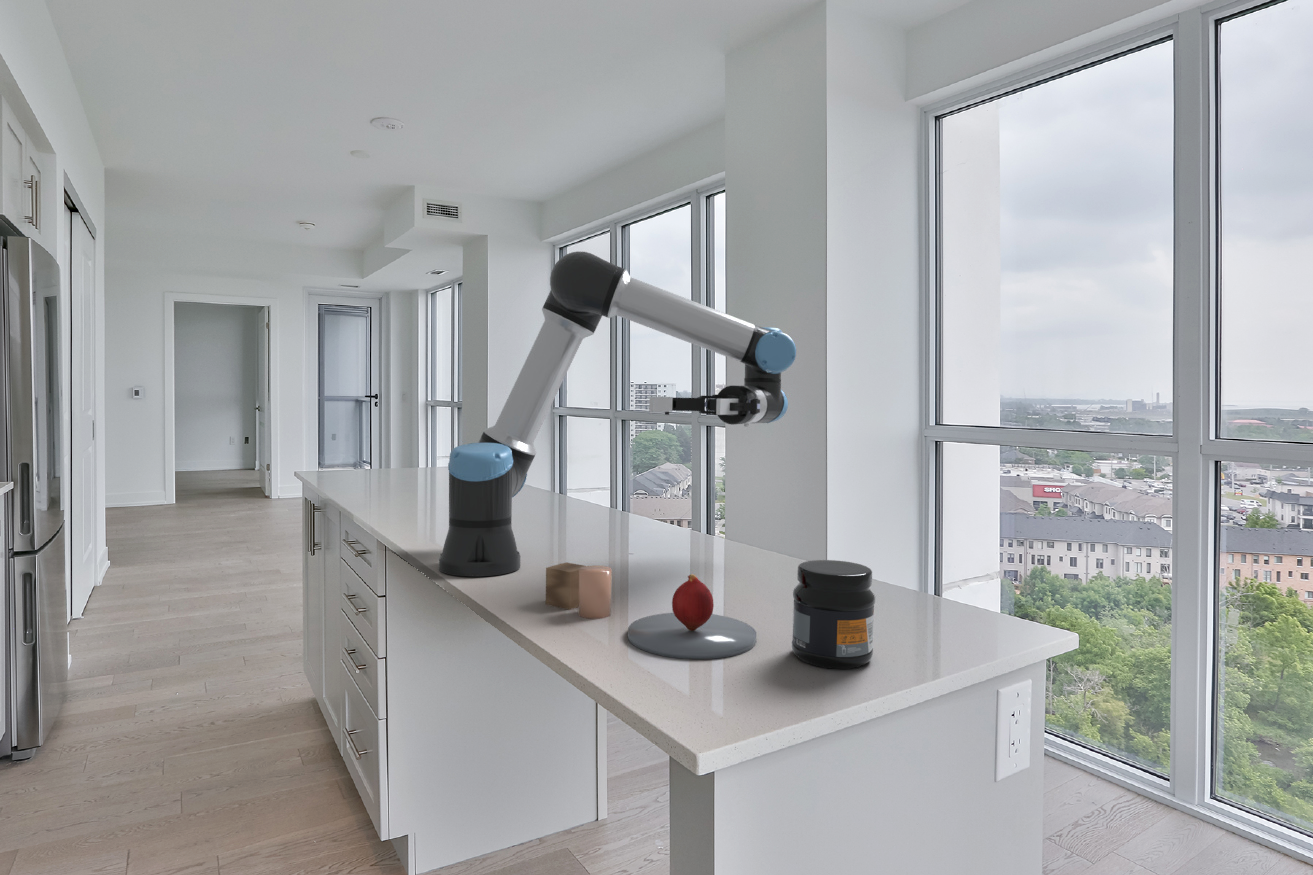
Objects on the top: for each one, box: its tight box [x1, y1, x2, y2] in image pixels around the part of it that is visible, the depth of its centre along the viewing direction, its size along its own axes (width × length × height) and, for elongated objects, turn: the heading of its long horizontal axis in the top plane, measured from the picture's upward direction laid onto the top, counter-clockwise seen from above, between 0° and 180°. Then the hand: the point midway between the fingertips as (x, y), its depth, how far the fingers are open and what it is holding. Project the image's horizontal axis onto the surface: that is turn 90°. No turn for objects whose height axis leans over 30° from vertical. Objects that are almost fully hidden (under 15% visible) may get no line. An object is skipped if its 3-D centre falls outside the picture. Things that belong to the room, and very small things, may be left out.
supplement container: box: [791, 559, 876, 670], centre depth 104 cm, size 10×10×12 cm
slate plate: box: [627, 612, 757, 660], centre depth 111 cm, size 18×18×1 cm
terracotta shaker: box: [577, 565, 613, 620], centre depth 122 cm, size 5×5×7 cm
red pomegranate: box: [671, 573, 715, 631], centre depth 111 cm, size 6×6×8 cm
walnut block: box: [545, 562, 585, 611], centre depth 127 cm, size 5×5×6 cm
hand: (683, 405), depth 137 cm, fingers open, 13 cm apart
